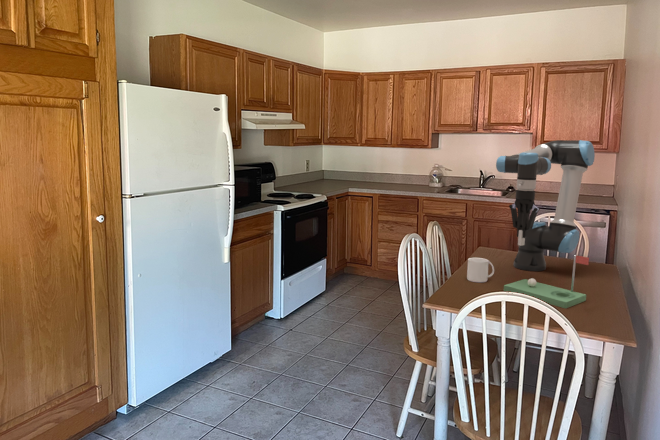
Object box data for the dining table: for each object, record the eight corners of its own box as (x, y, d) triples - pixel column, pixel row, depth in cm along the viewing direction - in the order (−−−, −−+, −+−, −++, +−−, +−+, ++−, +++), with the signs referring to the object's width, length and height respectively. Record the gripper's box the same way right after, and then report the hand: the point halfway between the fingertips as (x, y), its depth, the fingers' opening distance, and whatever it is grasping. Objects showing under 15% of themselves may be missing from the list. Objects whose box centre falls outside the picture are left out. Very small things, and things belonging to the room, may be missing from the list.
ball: (525, 286, 209) (526, 278, 209) (530, 284, 211) (530, 276, 211) (533, 288, 207) (533, 280, 206) (537, 286, 209) (538, 278, 208)
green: (503, 290, 211) (503, 285, 210) (524, 284, 220) (524, 279, 220) (565, 308, 190) (566, 302, 189) (585, 300, 199) (586, 294, 199)
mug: (468, 282, 224) (469, 261, 222) (465, 276, 232) (467, 257, 231) (495, 283, 222) (496, 263, 220) (492, 277, 230) (493, 258, 229)
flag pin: (569, 297, 203) (573, 254, 200) (570, 296, 204) (574, 254, 201) (584, 301, 199) (588, 257, 196) (585, 300, 199) (589, 257, 196)
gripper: (506, 188, 210) (502, 243, 213) (535, 191, 200) (530, 248, 203) (516, 188, 214) (512, 241, 218) (545, 190, 204) (540, 246, 208)
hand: (521, 244), depth 211 cm, fingers closed
